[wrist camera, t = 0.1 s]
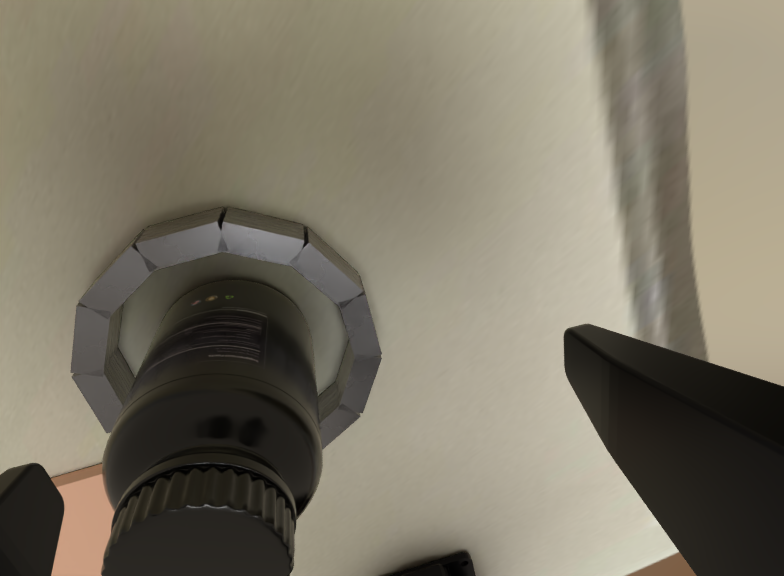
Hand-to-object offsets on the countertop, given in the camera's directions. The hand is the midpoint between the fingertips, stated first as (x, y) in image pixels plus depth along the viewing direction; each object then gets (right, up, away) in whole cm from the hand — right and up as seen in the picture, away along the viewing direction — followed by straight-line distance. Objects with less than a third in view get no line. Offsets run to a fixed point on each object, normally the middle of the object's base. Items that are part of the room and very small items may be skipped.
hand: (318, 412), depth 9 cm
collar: (-6, 0, +15) cm, 16 cm away
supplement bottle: (-6, 0, +16) cm, 17 cm away
